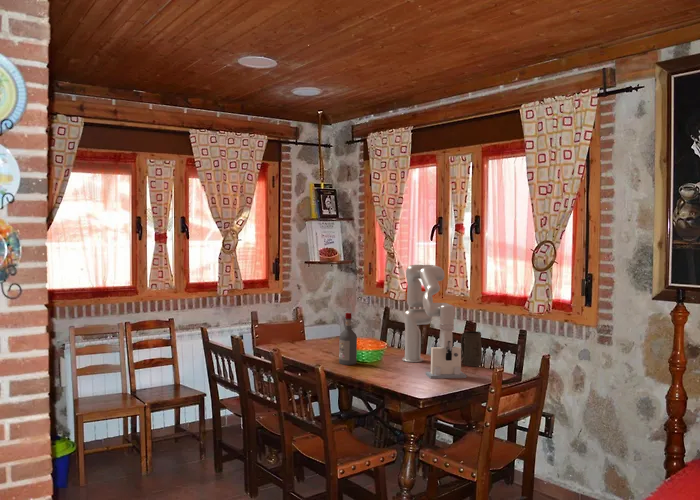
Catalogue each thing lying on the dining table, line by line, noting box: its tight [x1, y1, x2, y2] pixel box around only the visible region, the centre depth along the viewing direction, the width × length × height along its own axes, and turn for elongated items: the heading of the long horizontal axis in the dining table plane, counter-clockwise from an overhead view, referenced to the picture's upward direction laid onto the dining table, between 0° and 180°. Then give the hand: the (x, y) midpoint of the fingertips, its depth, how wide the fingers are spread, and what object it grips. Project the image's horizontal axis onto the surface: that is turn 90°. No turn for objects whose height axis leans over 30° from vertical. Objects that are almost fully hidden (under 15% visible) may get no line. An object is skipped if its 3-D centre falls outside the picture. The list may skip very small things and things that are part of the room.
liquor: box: [338, 312, 358, 366], centre depth 360 cm, size 9×9×30 cm
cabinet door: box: [430, 346, 462, 374], centre depth 329 cm, size 4×16×14 cm, turn 98°
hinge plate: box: [425, 367, 467, 379], centre depth 330 cm, size 10×20×6 cm, turn 98°
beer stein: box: [460, 330, 483, 367], centre depth 364 cm, size 15×11×20 cm
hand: (446, 358), depth 330 cm, fingers open, 9 cm apart
